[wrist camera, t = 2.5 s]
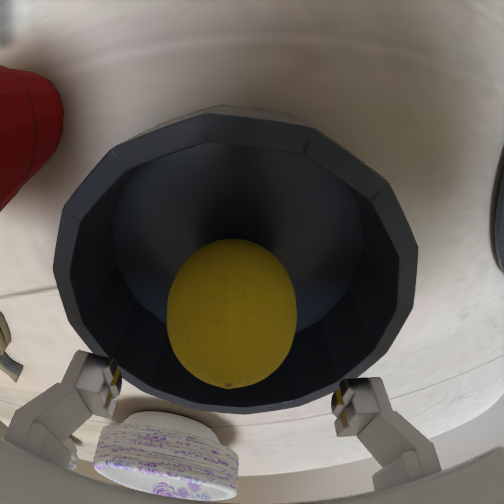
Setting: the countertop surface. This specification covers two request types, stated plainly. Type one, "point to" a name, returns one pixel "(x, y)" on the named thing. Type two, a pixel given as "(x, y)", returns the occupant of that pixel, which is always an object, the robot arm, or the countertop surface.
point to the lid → (500, 226)
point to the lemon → (231, 313)
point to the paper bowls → (167, 457)
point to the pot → (238, 227)
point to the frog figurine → (72, 448)
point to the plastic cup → (26, 128)
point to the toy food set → (3, 362)
